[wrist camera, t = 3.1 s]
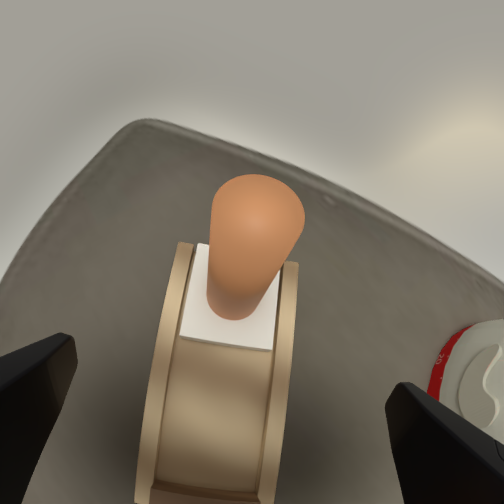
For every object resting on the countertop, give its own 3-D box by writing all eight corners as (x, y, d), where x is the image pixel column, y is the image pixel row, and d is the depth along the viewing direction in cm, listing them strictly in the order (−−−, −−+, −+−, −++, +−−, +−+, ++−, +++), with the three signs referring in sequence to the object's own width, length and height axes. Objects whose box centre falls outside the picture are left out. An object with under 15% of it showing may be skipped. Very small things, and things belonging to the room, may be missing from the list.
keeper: (268, 352, 18) (334, 307, 9) (180, 338, 18) (158, 278, 9) (277, 264, 21) (331, 164, 12) (198, 250, 20) (200, 138, 12)
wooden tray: (264, 509, 14) (274, 525, 12) (140, 492, 14) (130, 507, 11) (290, 274, 22) (303, 256, 19) (180, 255, 21) (177, 234, 19)
